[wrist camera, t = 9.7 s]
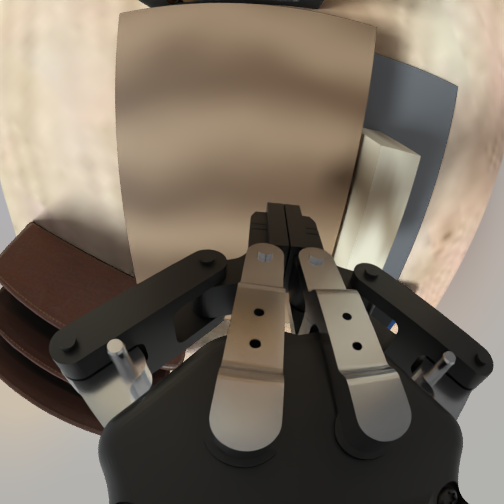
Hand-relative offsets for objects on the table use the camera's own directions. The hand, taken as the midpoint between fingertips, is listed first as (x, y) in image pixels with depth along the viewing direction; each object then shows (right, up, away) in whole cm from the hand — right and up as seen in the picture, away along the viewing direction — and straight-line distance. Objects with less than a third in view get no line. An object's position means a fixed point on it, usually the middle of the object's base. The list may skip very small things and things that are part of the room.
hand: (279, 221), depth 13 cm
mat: (+9, +3, +7) cm, 12 cm away
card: (+6, +2, +4) cm, 7 cm away
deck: (-2, +4, +6) cm, 8 cm away
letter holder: (-18, -6, +14) cm, 23 cm away
